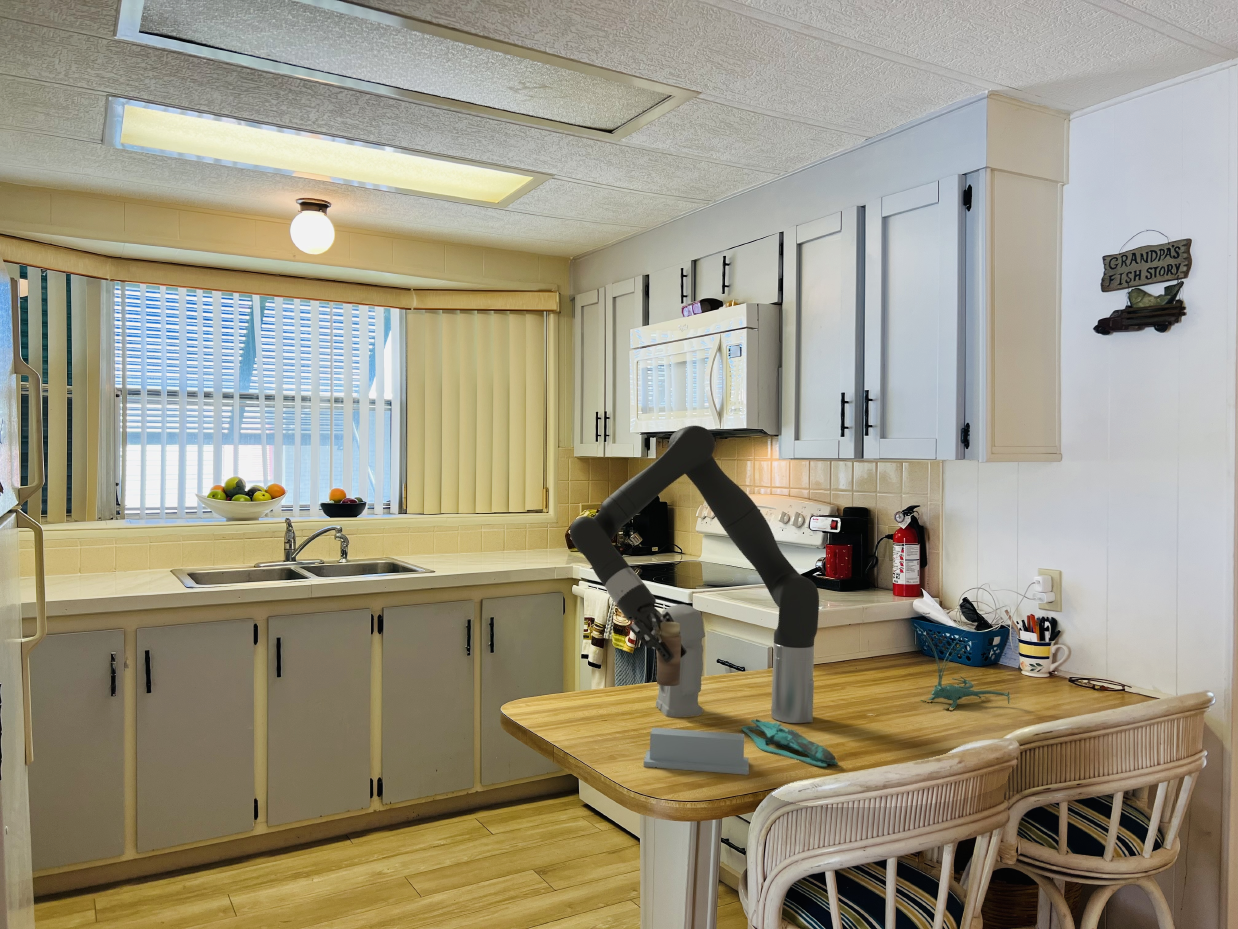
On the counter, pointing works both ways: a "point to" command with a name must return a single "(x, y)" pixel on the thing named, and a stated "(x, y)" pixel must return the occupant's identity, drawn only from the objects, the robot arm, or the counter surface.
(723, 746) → the rail
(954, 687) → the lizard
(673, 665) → the pepper mill
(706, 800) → the counter surface
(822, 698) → the counter surface
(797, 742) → the toy spaceship
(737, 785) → the counter surface
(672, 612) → the grey moai statue
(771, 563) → the robot arm
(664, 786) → the counter surface
